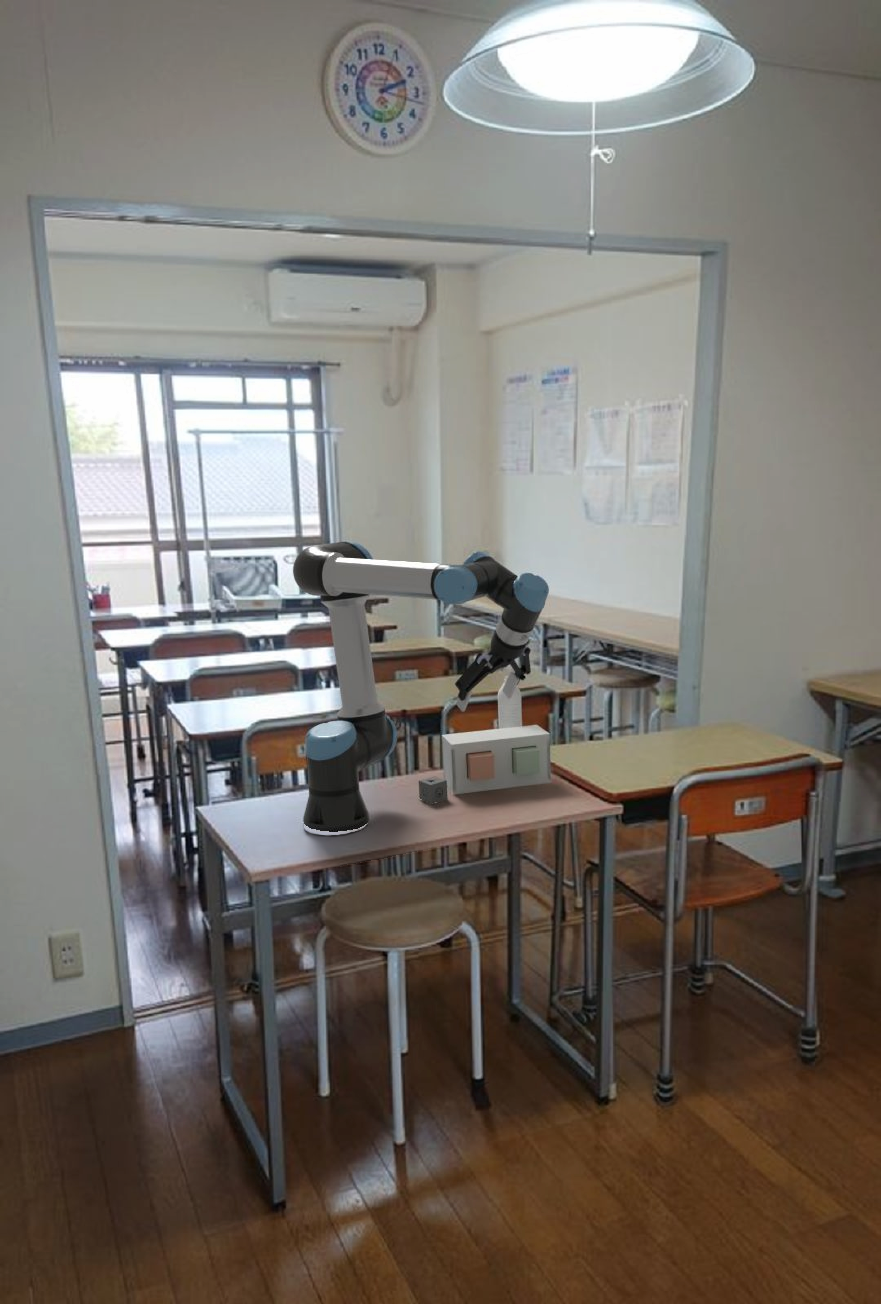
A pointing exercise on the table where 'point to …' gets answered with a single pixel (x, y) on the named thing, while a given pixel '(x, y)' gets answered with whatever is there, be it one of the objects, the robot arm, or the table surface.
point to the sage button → (525, 760)
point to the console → (501, 748)
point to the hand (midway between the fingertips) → (483, 700)
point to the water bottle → (509, 708)
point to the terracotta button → (480, 765)
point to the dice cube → (433, 789)
